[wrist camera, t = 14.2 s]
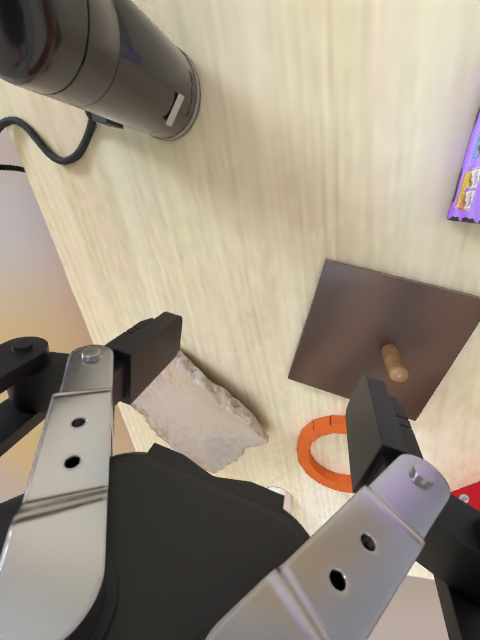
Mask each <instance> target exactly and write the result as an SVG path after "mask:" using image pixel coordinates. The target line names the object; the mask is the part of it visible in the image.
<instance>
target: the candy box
mask: <svg viewBox="0 0 480 640" xmlns="http://www.w3.org/2000/svg"><path fill="white" fill-rule="evenodd" d="M447 220H452V221H461V222H469V223H478V224H480V108H479V111H478V114H477V117H476V121H475V125H474V129H473V132H472V135H471V138H470V142H469V145H468V148H467V152H466V156H465V159H464V163H463V166H462V169H461V173H460V176H459V180H458V184H457V187H456V191H455V195H454V197H453V200H452V204H451V207H450V211H449V214H448V217H447Z"/></svg>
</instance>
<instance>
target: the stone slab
mask: <svg viewBox="0 0 480 640" xmlns="http://www.w3.org/2000/svg"><path fill="white" fill-rule="evenodd" d="M131 406H132V407H133V408H134V409H135V410H136V411H138V412H139V413H140V414H143V416H144V418H145V419H146V421H147V422H148V424H149V426H150V428H152V429H153V430H154V431H155V432H156V435H157V436H158V437H160V438H162V439H163V440H164V441H166V442H167V443H168V444H169V445H170V446H171V448H172V449H174V450H175V451H176V452H179V453H181V454H183V455H185V456H187V457H188V458H189V459H191V460H192V461H193V462H195V463H196V464H197V465H199V466H200V467H202V468H203V469H205V470H207V471H209V472H212V473H217V471H219V470H222V469H223V468H224V467H225V466H226V465H228V464H230V463H231V462H233V461H237V460H238V457H240V456H242V455H243V453H244V448H246V447H254V446H259V445H262V444H266V443H268V441H269V436H268V435H267V434H266V432H265V431H264V429H263V428H262V426H261V423H259V422H258V421H257V419H256V417H255V416H254V415H253V413H252V412H251V411H249V410H248V409H247V408H246V407H245V406H244V405H243V404H242V403H241V402H240V401H239V400H238V399H236V398H233V397H232V396H231V395H230V393H229V392H228V391H227V390H226V389H225V388H223V387H221V386H219V385H217V384H215V383H213V382H211V381H210V380H209V379H208V378H207V377H206V376H205V375H204V374H203V373H202V372H201V370H200V369H198V368H197V367H196V366H195V365H194V364H193V363H192V362H191V361H190V360H189V359H188V358H187V357H186V356H185V355H184V354H183V353H182V351H178V353H177V355H176V357H175V358H174V359H173V360H172V361H171V362H170V364H169V365H168V366H167V367H166V368H165V369H164V370H163V371H162V372H161V373H160V374H159V375H158V376H157V377H156V378H155V379H154V381H153V382H152V383H151V384H150V385H149V386H148V387H147V388H146V389H145V390H144V391H143V392H142V393H141V394H140V395H139V396H138V397H137V399H136V400H135V401H134V402H133V403H132V404H131Z"/></svg>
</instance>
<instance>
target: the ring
mask: <svg viewBox="0 0 480 640" xmlns="http://www.w3.org/2000/svg"><path fill="white" fill-rule="evenodd" d="M332 433H340V434H347V429H346V416H331V418H330V416H327V417H324V418H320V419H317V420H314V421H312V422H311V423H310V424H309V425H307V426H306V427H305V428H304V429H303V430H302V432H301V434H300V437H299V439H298V445H297V454H298V460H299V463H300V465H301V466H302V467H303V469H304V470H305V472H306V473H307V474H308V475H309V476H310V477H311V478H313V479H314V480H315V481H317V482H318V483H320V484H322V485H324V486H326V487H329V488H331V489H334V490H337V489H338V491H341V492H349V493H353V492H352V482H351V476H350V475H341V474H336V473H334V472H331V471H328V470H326V469H325V468H323V467H322V466H321V465H319V464H318V463H317V462H316V461H315V460H314V458H313V457H312V455H311V454H310V446H311V444H312V443H313V442H314V441H315V440H317V439H318V438H319V437H321V436H324V435H328V434H332Z"/></svg>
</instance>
